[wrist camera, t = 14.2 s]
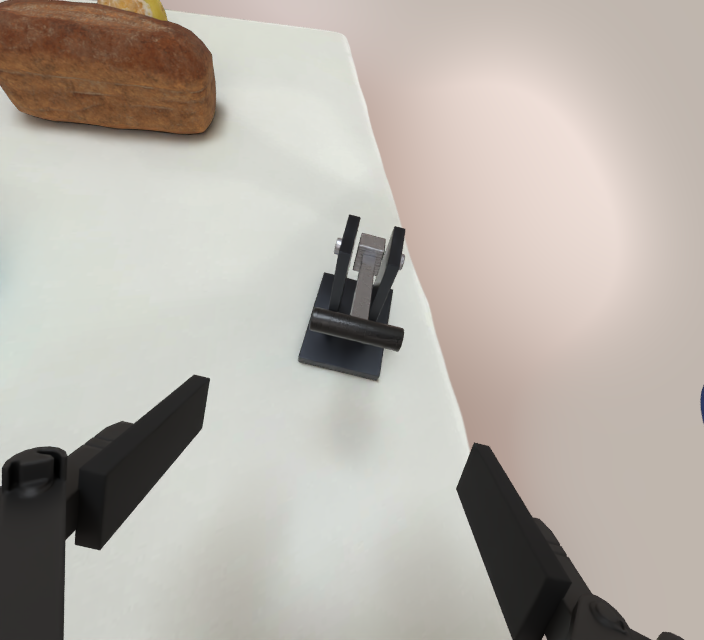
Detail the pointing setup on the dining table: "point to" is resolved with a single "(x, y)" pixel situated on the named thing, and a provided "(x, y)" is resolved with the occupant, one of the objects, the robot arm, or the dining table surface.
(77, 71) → the bread
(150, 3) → the fruit
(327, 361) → the bracket
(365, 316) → the lever
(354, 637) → the dining table surface
